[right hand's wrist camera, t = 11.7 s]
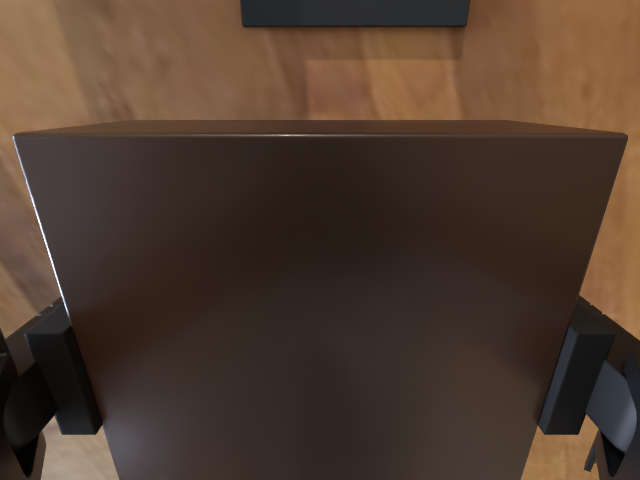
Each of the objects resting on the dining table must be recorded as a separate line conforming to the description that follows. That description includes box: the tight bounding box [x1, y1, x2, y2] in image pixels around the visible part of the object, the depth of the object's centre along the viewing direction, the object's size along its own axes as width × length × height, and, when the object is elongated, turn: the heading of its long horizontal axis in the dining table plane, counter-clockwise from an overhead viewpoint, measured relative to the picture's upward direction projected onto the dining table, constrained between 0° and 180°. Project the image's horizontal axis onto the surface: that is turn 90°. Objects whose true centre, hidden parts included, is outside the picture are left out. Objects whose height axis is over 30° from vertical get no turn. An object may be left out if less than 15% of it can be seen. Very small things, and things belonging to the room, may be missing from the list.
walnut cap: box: [12, 120, 628, 480], centre depth 9 cm, size 10×10×4 cm
